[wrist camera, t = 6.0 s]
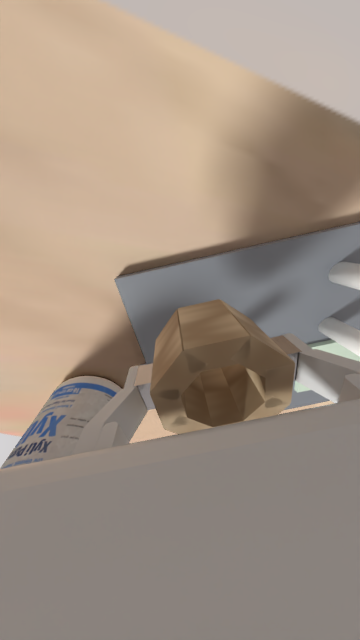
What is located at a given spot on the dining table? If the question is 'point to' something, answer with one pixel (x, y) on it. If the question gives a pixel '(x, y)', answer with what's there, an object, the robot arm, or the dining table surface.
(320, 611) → the robot arm
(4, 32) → the dining table surface
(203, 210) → the dining table surface
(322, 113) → the dining table surface
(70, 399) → the supplement tub
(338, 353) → the pad
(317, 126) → the dining table surface
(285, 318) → the board
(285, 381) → the ring
